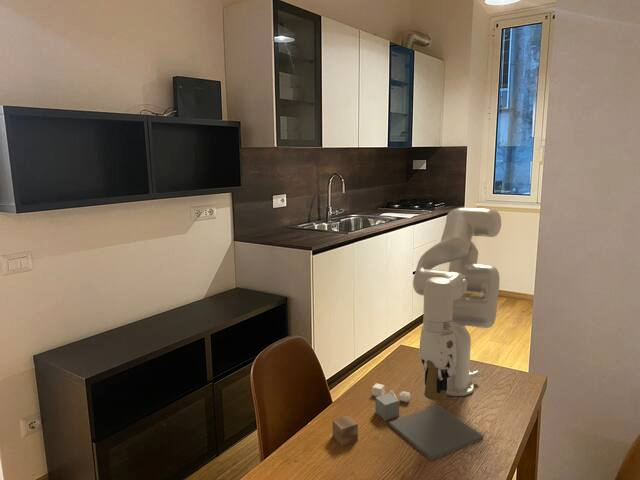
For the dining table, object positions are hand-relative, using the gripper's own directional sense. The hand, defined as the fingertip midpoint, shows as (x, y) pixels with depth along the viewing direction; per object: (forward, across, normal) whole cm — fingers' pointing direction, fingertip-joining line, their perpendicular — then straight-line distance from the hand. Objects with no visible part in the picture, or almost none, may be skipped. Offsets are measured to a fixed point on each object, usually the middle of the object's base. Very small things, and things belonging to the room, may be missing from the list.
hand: (435, 387), depth 132 cm
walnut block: (+14, +10, +23) cm, 29 cm away
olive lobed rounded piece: (+2, 0, 0) cm, 2 cm away
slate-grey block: (+14, +14, +6) cm, 21 cm away
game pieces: (+14, +21, -1) cm, 25 cm away
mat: (+14, 0, 0) cm, 14 cm away
